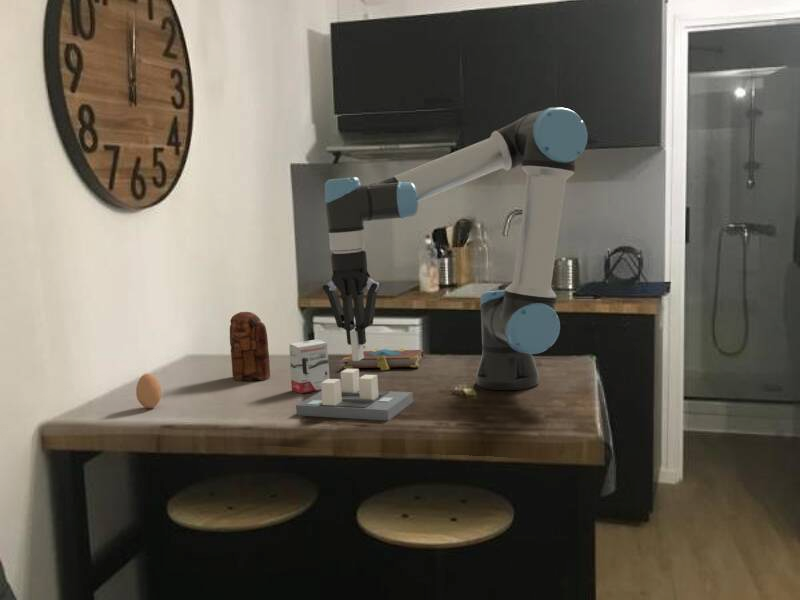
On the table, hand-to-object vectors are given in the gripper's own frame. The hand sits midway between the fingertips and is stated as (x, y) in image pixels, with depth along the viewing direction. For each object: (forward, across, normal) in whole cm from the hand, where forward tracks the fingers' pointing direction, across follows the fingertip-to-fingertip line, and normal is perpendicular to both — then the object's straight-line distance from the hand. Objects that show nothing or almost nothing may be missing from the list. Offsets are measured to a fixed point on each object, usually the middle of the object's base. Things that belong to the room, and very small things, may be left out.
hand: (358, 359), depth 184 cm
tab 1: (+10, +7, +1) cm, 12 cm away
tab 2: (+10, +7, -9) cm, 16 cm away
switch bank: (+13, +4, -4) cm, 14 cm away
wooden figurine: (+12, +45, -27) cm, 54 cm away
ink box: (+13, +23, -19) cm, 32 cm away
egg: (+11, +54, +4) cm, 55 cm away
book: (+14, +17, -48) cm, 52 cm away
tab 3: (+10, 0, -4) cm, 11 cm away
